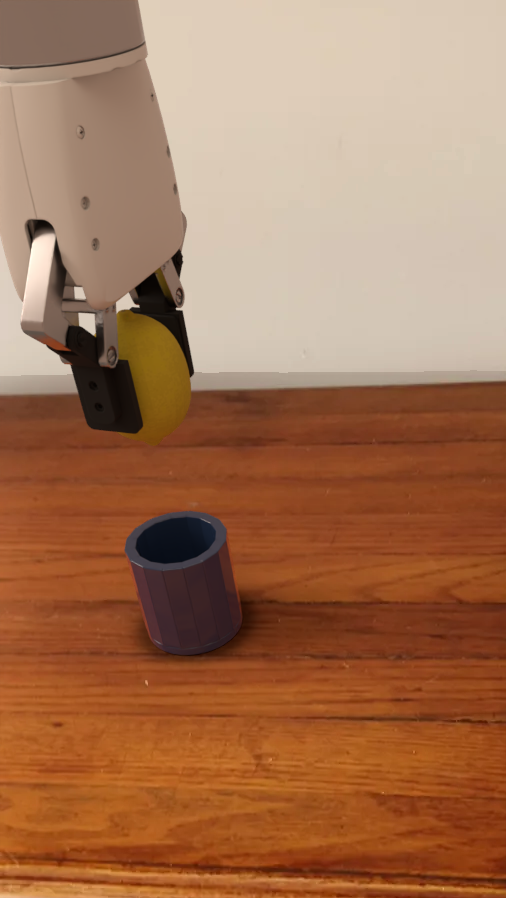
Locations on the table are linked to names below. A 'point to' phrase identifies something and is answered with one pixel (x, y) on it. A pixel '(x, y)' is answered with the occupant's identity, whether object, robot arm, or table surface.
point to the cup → (185, 581)
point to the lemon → (154, 375)
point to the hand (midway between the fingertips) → (143, 398)
